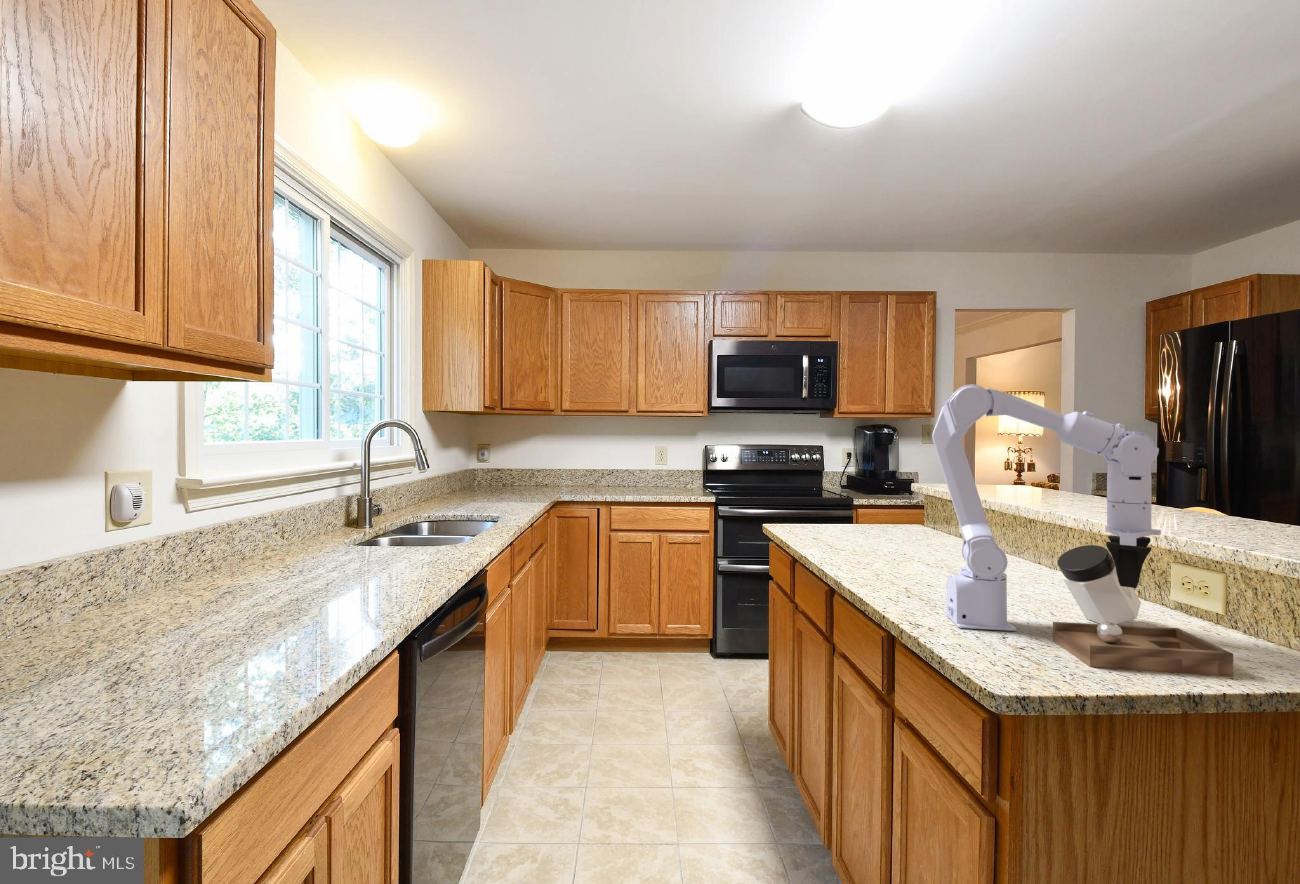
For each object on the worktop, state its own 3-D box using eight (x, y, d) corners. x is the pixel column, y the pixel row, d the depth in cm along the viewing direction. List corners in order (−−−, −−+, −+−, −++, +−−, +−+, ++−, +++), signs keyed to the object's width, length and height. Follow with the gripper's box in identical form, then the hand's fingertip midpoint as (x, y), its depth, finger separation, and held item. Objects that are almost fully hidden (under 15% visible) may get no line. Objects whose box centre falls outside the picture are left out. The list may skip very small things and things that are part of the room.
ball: (1104, 645, 86) (1104, 625, 86) (1092, 638, 90) (1092, 618, 90) (1128, 647, 86) (1127, 626, 86) (1115, 639, 89) (1115, 619, 89)
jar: (1136, 627, 97) (1103, 569, 96) (1082, 627, 104) (1051, 573, 103) (1145, 595, 102) (1113, 540, 101) (1093, 597, 109) (1063, 546, 108)
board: (1090, 666, 83) (1089, 645, 83) (1052, 640, 94) (1052, 621, 94) (1233, 676, 80) (1233, 653, 80) (1177, 647, 90) (1177, 628, 90)
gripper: (1162, 508, 86) (1162, 595, 86) (1159, 500, 97) (1159, 577, 97) (1103, 504, 91) (1103, 587, 91) (1107, 497, 102) (1107, 571, 102)
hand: (1128, 582), depth 94 cm, fingers open, 7 cm apart
